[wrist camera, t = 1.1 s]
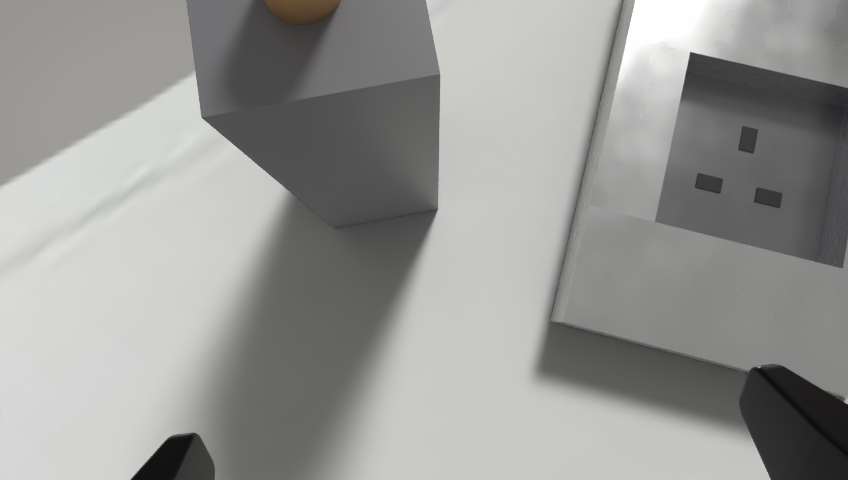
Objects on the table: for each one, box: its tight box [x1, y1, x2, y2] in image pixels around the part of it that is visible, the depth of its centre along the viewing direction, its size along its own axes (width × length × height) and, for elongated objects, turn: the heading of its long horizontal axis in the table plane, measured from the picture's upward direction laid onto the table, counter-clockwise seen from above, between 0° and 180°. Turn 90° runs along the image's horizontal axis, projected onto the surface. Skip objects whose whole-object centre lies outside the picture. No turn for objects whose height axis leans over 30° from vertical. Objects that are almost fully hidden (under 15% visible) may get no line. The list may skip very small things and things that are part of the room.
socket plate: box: [550, 0, 848, 399], centre depth 22 cm, size 16×12×2 cm
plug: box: [186, 0, 440, 228], centre depth 16 cm, size 4×4×15 cm
